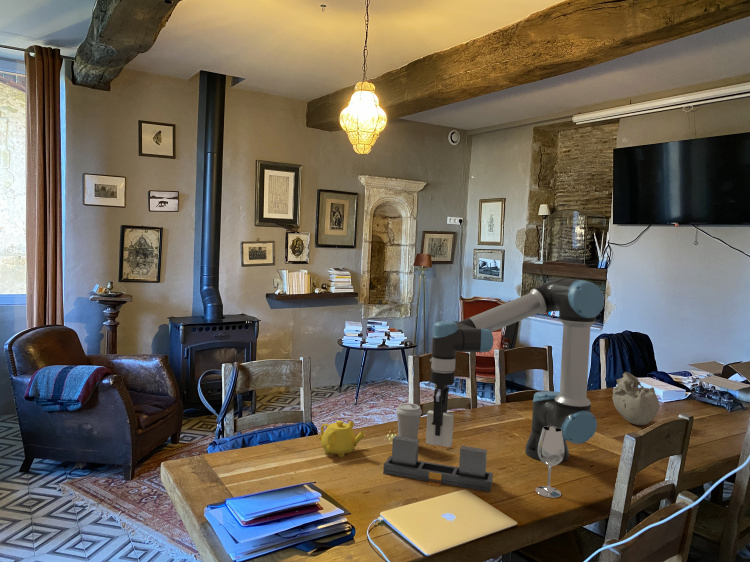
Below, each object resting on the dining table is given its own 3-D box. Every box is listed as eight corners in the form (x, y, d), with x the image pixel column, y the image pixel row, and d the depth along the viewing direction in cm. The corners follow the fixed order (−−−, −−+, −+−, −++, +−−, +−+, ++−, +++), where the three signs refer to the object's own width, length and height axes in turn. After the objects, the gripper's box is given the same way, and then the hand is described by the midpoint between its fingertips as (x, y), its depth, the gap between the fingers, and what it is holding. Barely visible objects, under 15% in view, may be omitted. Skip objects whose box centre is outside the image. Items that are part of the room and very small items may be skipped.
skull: (664, 426, 242) (668, 376, 240) (648, 433, 232) (652, 381, 231) (621, 414, 257) (624, 367, 255) (604, 420, 247) (607, 371, 246)
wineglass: (531, 486, 174) (535, 424, 173) (555, 486, 175) (559, 424, 174) (540, 498, 167) (544, 432, 165) (565, 498, 167) (570, 433, 166)
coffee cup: (418, 452, 200) (420, 411, 199) (392, 449, 201) (394, 408, 200) (421, 443, 209) (423, 404, 208) (396, 440, 211) (398, 401, 210)
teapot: (365, 457, 192) (366, 426, 192) (326, 461, 188) (328, 429, 187) (352, 443, 206) (353, 413, 205) (316, 446, 201) (317, 416, 200)
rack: (492, 481, 177) (494, 447, 176) (488, 495, 167) (490, 459, 167) (390, 464, 187) (391, 432, 187) (381, 476, 178) (382, 442, 177)
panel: (452, 444, 178) (453, 413, 177) (450, 447, 175) (452, 416, 174) (427, 440, 180) (429, 410, 180) (425, 443, 177) (427, 412, 177)
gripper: (436, 364, 185) (432, 433, 186) (425, 374, 170) (421, 449, 171) (458, 366, 183) (454, 436, 184) (449, 377, 167) (445, 453, 169)
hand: (438, 442), depth 178 cm, fingers closed on panel, 3 cm apart
